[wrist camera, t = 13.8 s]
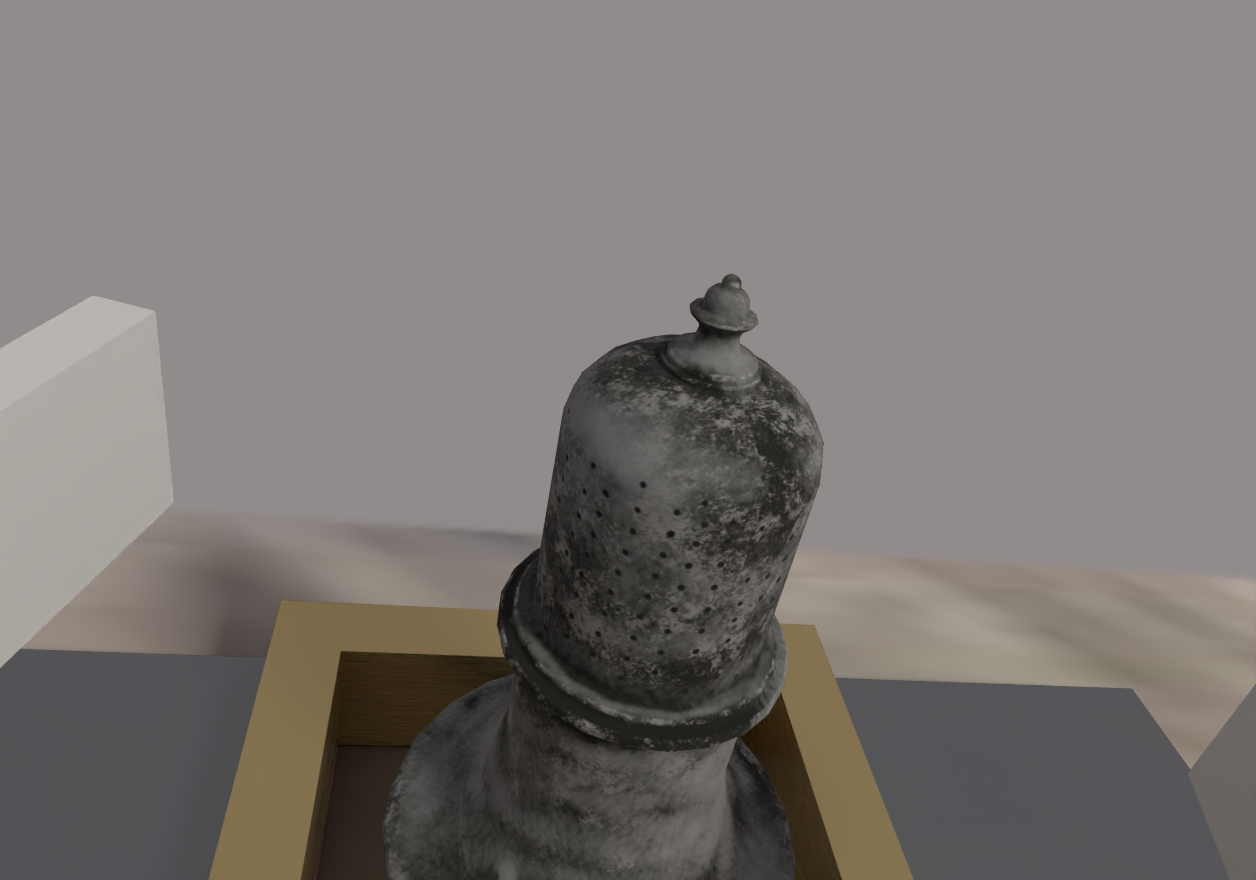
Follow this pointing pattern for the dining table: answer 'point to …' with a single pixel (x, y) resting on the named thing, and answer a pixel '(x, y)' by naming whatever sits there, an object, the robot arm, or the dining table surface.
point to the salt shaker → (633, 636)
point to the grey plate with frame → (472, 655)
